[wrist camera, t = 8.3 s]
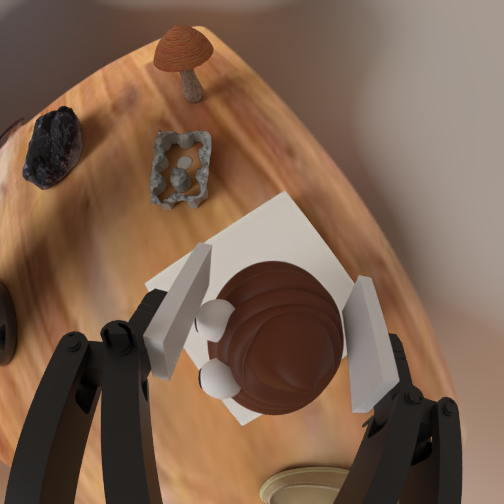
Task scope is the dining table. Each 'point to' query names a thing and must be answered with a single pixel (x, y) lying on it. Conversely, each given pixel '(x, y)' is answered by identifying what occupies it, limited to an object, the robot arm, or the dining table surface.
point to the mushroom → (184, 57)
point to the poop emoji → (270, 339)
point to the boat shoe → (304, 486)
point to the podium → (259, 250)
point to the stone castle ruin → (179, 168)
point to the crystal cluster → (53, 147)
